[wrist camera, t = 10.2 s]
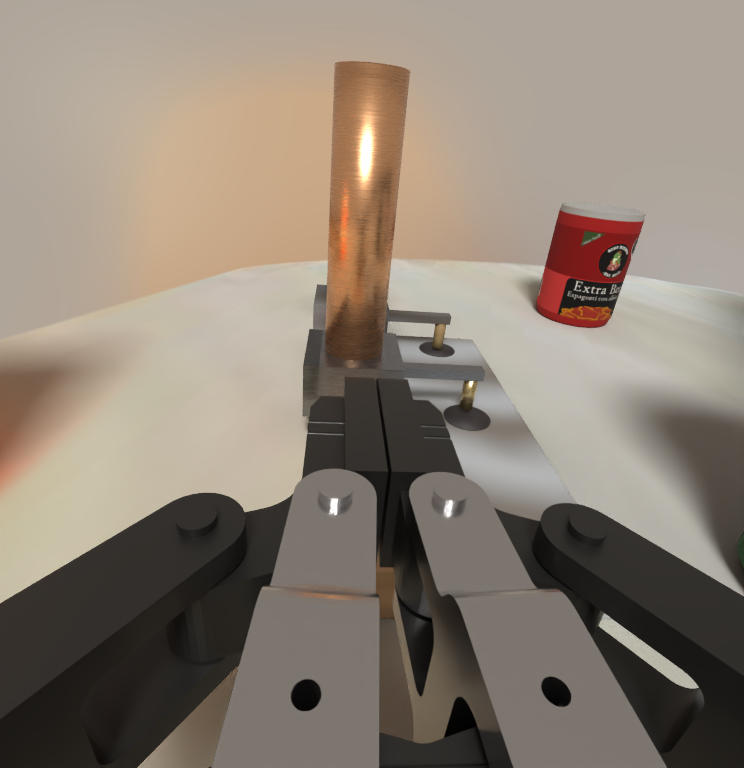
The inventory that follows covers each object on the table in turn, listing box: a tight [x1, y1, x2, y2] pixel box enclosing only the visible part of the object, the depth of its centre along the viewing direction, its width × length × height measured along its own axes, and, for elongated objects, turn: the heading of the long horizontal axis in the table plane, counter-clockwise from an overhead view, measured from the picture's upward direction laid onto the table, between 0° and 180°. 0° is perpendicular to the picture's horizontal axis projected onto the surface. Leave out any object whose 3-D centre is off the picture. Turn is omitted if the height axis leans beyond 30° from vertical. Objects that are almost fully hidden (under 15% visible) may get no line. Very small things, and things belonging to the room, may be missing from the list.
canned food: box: [537, 202, 645, 328], centre depth 47 cm, size 8×8×11 cm
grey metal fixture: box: [313, 285, 610, 618], centre depth 24 cm, size 25×13×18 cm, turn 3°
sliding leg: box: [303, 61, 485, 416], centre depth 24 cm, size 5×10×16 cm, turn 93°
